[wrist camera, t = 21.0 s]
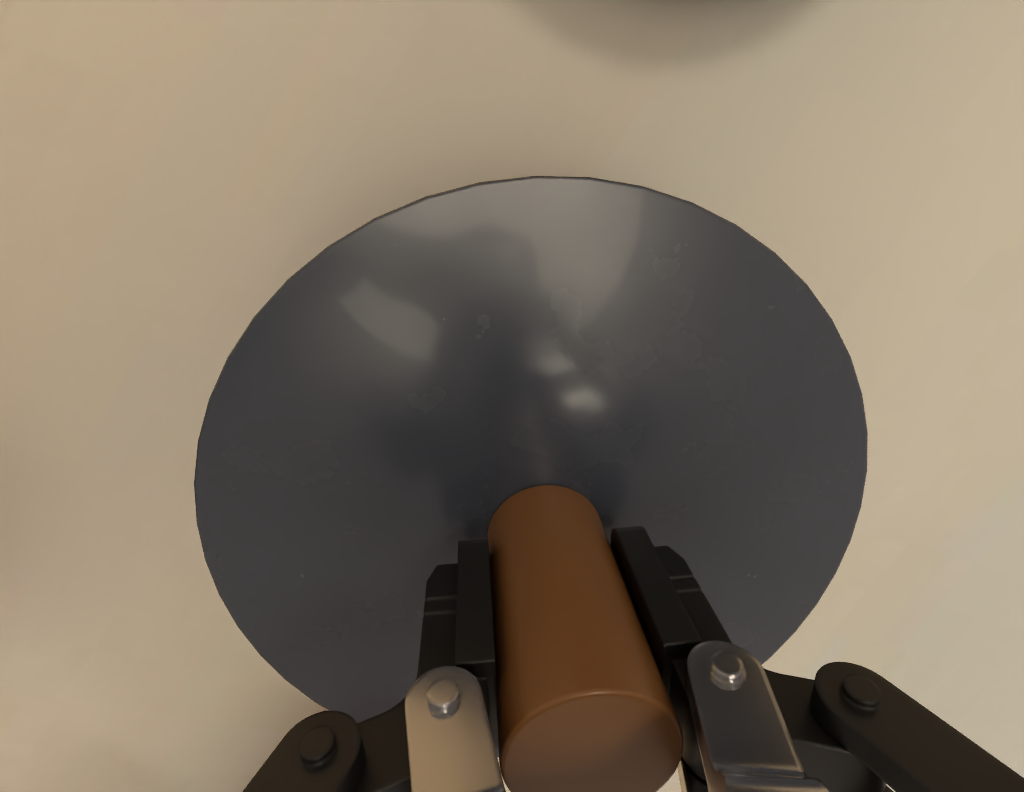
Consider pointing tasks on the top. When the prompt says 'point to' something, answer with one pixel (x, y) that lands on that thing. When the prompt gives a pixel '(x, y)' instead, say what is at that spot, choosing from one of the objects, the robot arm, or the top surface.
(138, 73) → the top surface
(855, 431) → the lid
